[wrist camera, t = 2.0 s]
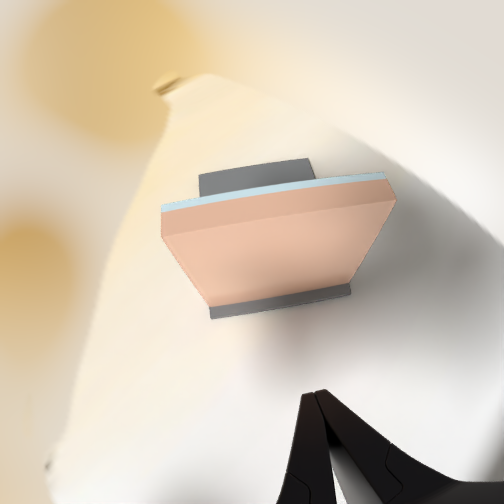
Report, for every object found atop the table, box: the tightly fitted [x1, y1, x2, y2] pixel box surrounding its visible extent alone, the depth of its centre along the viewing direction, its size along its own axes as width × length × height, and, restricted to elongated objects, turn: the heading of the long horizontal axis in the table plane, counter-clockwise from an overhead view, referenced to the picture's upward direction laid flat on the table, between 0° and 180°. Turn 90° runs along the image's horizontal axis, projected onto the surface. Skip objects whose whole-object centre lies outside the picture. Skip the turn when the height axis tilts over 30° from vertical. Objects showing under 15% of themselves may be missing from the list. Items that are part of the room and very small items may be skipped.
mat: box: [199, 158, 351, 319], centre depth 23 cm, size 13×10×1 cm
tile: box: [161, 172, 397, 307], centre depth 16 cm, size 2×10×10 cm, turn 99°
